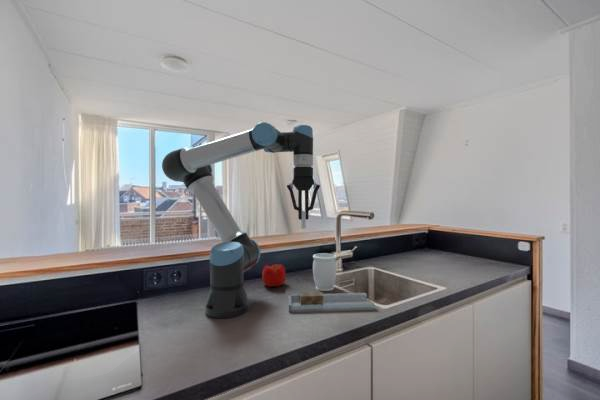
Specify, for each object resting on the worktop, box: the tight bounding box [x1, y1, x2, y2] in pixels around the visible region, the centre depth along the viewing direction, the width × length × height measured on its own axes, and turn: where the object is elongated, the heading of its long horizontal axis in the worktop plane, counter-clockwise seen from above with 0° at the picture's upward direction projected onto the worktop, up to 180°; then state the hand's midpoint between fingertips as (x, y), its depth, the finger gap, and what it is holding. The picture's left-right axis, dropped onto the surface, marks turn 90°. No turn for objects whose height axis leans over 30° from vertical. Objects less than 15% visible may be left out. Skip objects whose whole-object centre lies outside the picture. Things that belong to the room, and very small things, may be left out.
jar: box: [312, 252, 338, 292], centre depth 120 cm, size 11×10×15 cm
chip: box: [299, 291, 312, 305], centre depth 101 cm, size 4×4×4 cm
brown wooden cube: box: [310, 291, 324, 304], centre depth 102 cm, size 4×4×4 cm
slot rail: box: [287, 292, 376, 313], centre depth 102 cm, size 30×11×3 cm, turn 93°
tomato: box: [261, 263, 287, 288], centre depth 127 cm, size 11×12×9 cm
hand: (303, 228), depth 107 cm, fingers closed
